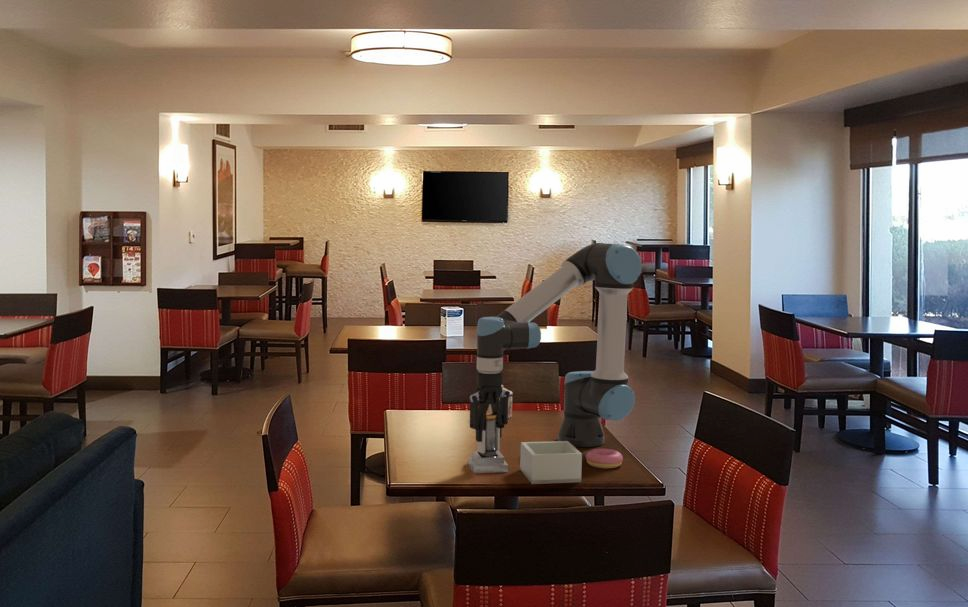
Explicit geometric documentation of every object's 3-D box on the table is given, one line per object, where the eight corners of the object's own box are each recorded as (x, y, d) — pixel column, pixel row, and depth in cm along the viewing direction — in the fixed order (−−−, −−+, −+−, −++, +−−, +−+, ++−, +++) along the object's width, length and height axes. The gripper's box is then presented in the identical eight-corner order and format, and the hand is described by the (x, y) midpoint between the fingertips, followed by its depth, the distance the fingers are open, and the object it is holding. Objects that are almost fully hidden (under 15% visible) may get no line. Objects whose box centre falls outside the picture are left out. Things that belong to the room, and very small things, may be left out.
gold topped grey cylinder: (490, 455, 263) (490, 411, 262) (499, 459, 259) (500, 414, 258) (477, 457, 261) (477, 413, 259) (486, 461, 257) (487, 416, 255)
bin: (567, 467, 262) (567, 440, 261) (581, 482, 248) (582, 453, 247) (520, 469, 259) (520, 442, 258) (531, 483, 245) (532, 455, 244)
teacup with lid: (514, 419, 321) (514, 387, 320) (488, 419, 320) (489, 387, 319) (509, 412, 333) (510, 381, 332) (485, 412, 332) (485, 381, 331)
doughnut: (629, 468, 263) (629, 454, 262) (594, 471, 260) (594, 457, 259) (613, 458, 273) (613, 445, 273) (579, 461, 270) (580, 447, 269)
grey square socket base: (500, 462, 266) (501, 449, 266) (508, 471, 256) (508, 458, 256) (467, 463, 264) (467, 450, 264) (473, 473, 254) (473, 459, 254)
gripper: (472, 376, 249) (471, 458, 251) (521, 370, 260) (520, 449, 262) (457, 372, 255) (456, 452, 257) (505, 366, 266) (504, 443, 268)
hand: (488, 450), depth 260 cm, fingers closed on gold topped grey cylinder, 5 cm apart
